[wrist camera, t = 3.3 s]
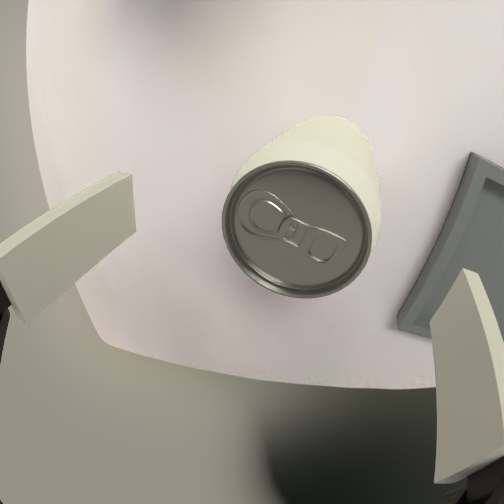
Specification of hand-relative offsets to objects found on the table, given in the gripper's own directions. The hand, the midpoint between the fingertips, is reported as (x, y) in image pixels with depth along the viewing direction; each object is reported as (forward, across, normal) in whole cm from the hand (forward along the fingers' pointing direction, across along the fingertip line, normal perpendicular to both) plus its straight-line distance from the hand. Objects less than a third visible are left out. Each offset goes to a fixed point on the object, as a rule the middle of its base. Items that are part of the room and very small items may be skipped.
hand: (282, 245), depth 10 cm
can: (+13, 0, 0) cm, 13 cm away
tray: (+12, +18, -4) cm, 22 cm away
